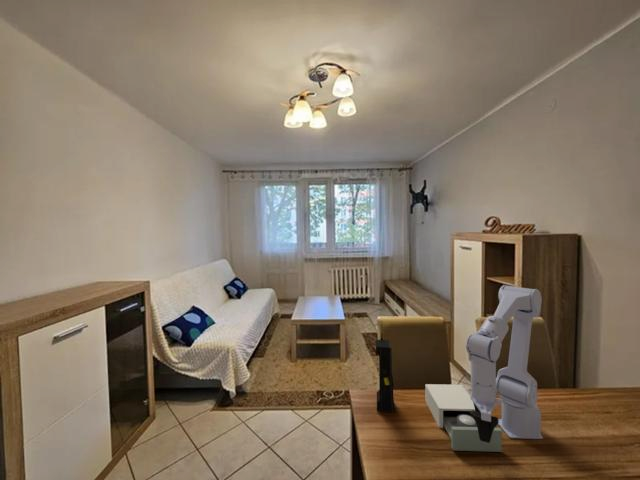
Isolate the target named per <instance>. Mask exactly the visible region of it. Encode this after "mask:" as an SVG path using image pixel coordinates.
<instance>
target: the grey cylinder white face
mask: <svg viewBox="0 0 640 480" xmlns="http://www.w3.org/2000/svg"><path fill="white" fill-rule="evenodd" d="M456 417H457V427H477V424H476V422H475V420H474V418H473V417H472V415H471V414H465V413H461V414H458V415H457V416H456Z"/></svg>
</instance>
